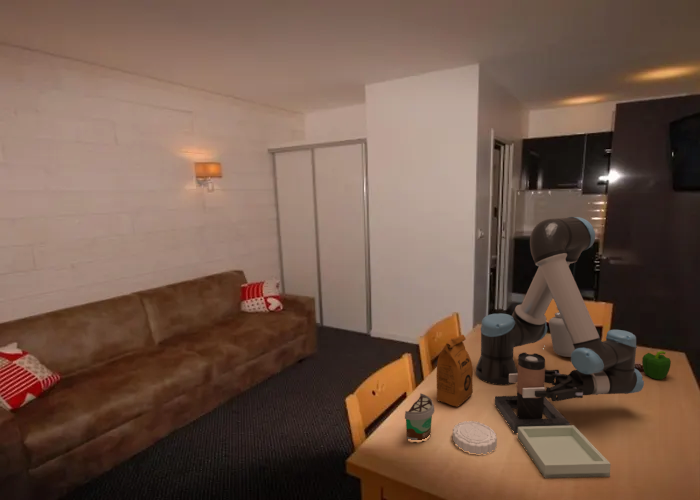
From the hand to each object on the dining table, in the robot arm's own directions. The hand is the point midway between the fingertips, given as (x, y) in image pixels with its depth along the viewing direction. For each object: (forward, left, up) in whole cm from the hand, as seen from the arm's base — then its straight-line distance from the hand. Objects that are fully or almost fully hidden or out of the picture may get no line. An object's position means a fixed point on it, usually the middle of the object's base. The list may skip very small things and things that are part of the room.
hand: (515, 385), depth 120 cm
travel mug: (+4, +3, -11) cm, 12 cm away
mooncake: (-6, -19, -12) cm, 23 cm away
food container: (-19, -25, -11) cm, 33 cm away
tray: (+15, -11, -11) cm, 21 cm away
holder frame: (+4, +3, -11) cm, 12 cm away
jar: (+4, +62, -11) cm, 64 cm away
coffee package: (-20, 0, -11) cm, 23 cm away
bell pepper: (+34, +57, -11) cm, 68 cm away
